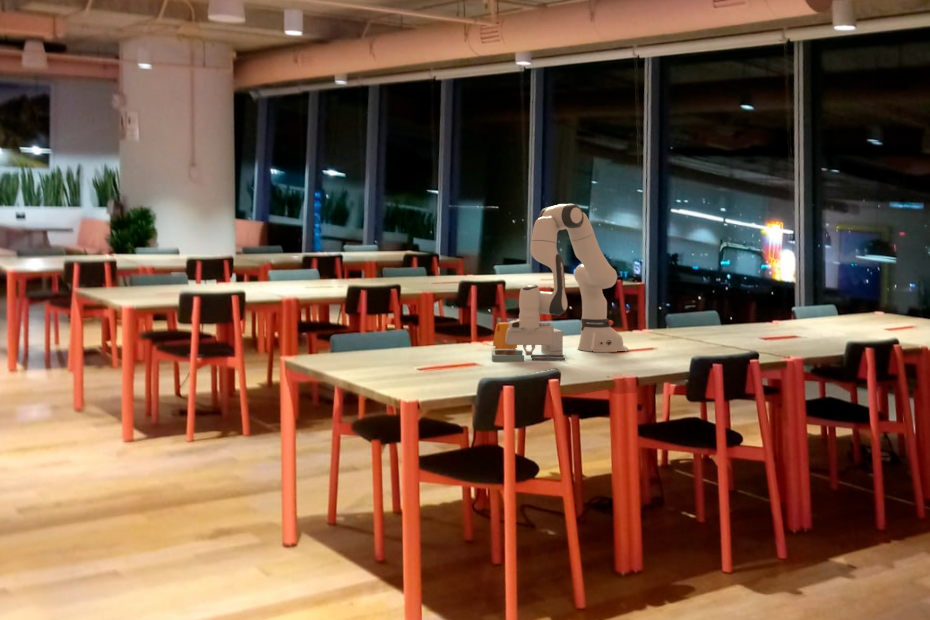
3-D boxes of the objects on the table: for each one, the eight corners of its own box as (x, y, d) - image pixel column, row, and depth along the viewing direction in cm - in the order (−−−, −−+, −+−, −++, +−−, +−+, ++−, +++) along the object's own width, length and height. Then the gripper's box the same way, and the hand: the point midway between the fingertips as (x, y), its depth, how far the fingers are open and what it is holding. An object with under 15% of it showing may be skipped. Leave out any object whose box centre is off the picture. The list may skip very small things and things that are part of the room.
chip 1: (505, 358, 437) (505, 348, 437) (506, 359, 433) (506, 350, 433) (496, 358, 437) (496, 348, 437) (496, 359, 433) (496, 350, 433)
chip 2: (515, 358, 437) (515, 348, 437) (515, 359, 433) (515, 350, 433) (505, 358, 437) (505, 348, 437) (506, 359, 433) (506, 350, 433)
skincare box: (540, 351, 456) (540, 328, 455) (553, 351, 458) (554, 327, 457) (549, 355, 446) (549, 331, 445) (563, 354, 448) (563, 330, 447)
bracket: (517, 350, 461) (518, 323, 459) (503, 350, 458) (503, 324, 456) (507, 346, 470) (507, 320, 469) (493, 347, 467) (493, 321, 466)
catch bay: (522, 356, 442) (522, 350, 442) (524, 361, 428) (524, 355, 428) (491, 355, 442) (491, 350, 442) (492, 361, 428) (492, 355, 428)
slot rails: (563, 357, 439) (563, 354, 439) (565, 360, 431) (565, 357, 431) (530, 357, 439) (530, 354, 439) (532, 360, 431) (532, 357, 431)
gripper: (553, 322, 437) (552, 354, 438) (505, 322, 437) (505, 354, 438) (554, 324, 431) (553, 356, 432) (505, 323, 431) (505, 356, 432)
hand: (528, 355), depth 435 cm, fingers closed
